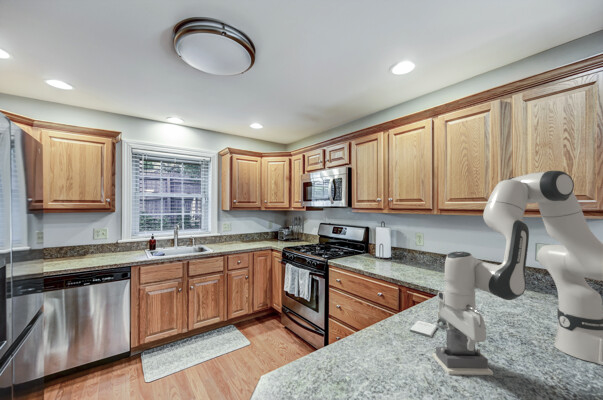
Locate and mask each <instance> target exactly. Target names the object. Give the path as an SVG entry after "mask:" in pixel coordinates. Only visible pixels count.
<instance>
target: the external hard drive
mask: <svg viewBox="0 0 603 400" xmlns="http://www.w3.org/2000/svg"><path fill="white" fill-rule="evenodd" d="M437 329H438V325H437V324H433V323H430V322H427V321H422V320H417V321H416V322H415V323H414V324H413V325H412V327H411V328H410V329H409V332H410V333H413V334H416V335H420V336H423V337H426V338H429V339H430V338H432V336H433V335H434V334H435V332H436V330H437Z"/></svg>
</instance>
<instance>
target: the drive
mask: <svg viewBox="0 0 603 400" xmlns="http://www.w3.org/2000/svg"><path fill="white" fill-rule="evenodd" d="M445 330H446V347H447V356H475V349H476V344H475V345H474V350H473V351H469V350H468V349H467V348H466V343H467V342H468V339H467V336H466V335H465V334H464V333H462V332H461V331H460V330H457V329H455V330H449V329H445Z"/></svg>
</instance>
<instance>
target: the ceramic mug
mask: <svg viewBox="0 0 603 400" xmlns="http://www.w3.org/2000/svg"><path fill="white" fill-rule="evenodd" d="M437 315H438V319H437V320H436V325H437V328H440V329H443V330H448V326H447V323H446V320H445V319H444V318H443V317H441V315H440V313H439V312H438V314H437ZM440 323H442V324H444V325H441V324H440ZM454 329H455V330H458V329H457V328H456V327H454Z"/></svg>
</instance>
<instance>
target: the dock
mask: <svg viewBox="0 0 603 400" xmlns="http://www.w3.org/2000/svg"><path fill="white" fill-rule="evenodd" d="M432 357H433V358H434V360H435V361H436V362H437V363H438V364H439V365H440V366H441V367H442V368H443V370H444V371H445V372H446V373H447V374H448V375H472V376H474V375H477V376H478V375H479V376H481V375H482V376H483V375H484V376H494V372H493V370H492V369H490V368H489V359H488V358H487V357H486V356H484V355H483V354H482V353H481V349H480V348H475V356H447V346H435V353H434V352H432Z"/></svg>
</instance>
